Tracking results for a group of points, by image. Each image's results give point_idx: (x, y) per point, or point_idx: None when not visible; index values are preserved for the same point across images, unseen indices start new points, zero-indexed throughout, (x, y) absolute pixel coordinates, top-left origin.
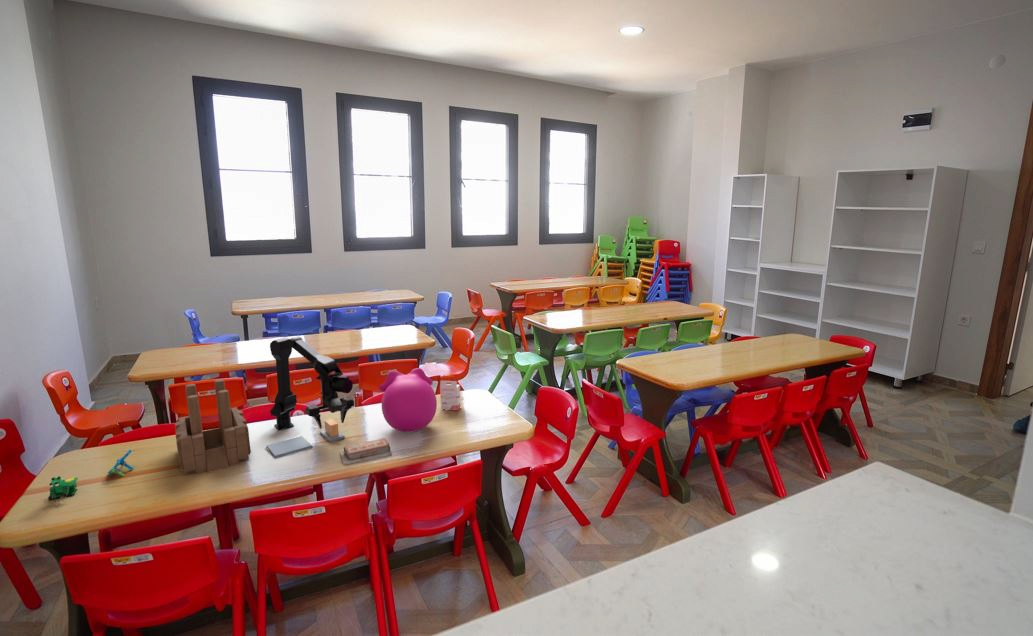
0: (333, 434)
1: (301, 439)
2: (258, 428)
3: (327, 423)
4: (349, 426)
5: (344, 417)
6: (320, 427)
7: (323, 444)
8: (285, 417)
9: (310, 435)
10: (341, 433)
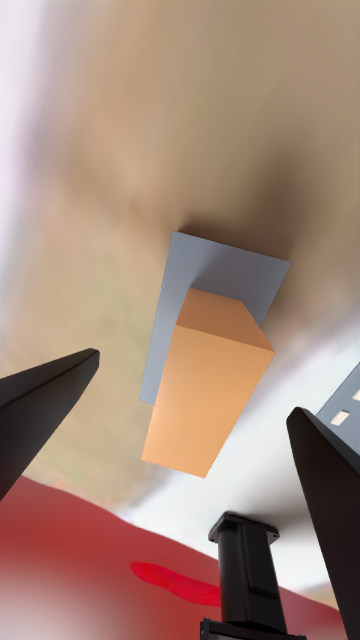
0: (228, 302)
1: (356, 422)
2: (294, 565)
3: (230, 425)
4: None
5: (29, 373)
6: (317, 421)
7: (332, 275)
8: (264, 599)
9: (256, 426)
10: (160, 293)
